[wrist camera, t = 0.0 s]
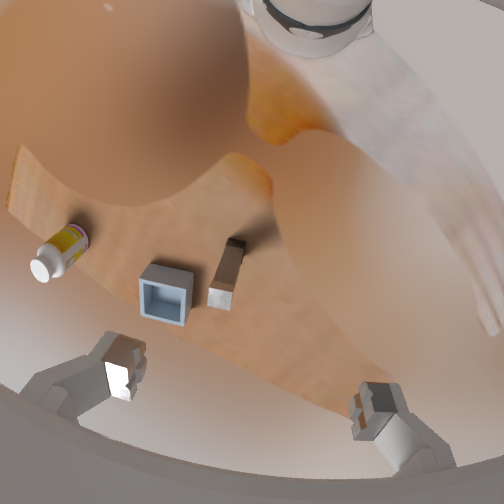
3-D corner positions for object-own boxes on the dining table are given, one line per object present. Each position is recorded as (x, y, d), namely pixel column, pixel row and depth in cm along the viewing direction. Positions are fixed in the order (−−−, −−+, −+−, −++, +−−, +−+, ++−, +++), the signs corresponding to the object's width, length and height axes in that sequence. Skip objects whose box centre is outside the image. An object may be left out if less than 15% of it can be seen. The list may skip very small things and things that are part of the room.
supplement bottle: (61, 223, 54) (21, 253, 42) (85, 222, 53) (45, 253, 42) (69, 252, 57) (34, 286, 46) (93, 253, 56) (58, 288, 45)
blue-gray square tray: (150, 262, 56) (138, 278, 51) (194, 272, 56) (186, 289, 51) (150, 299, 60) (140, 315, 55) (191, 309, 60) (184, 326, 55)
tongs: (228, 237, 52) (209, 287, 39) (246, 241, 52) (232, 292, 39) (226, 253, 53) (207, 305, 40) (243, 257, 53) (229, 310, 40)
